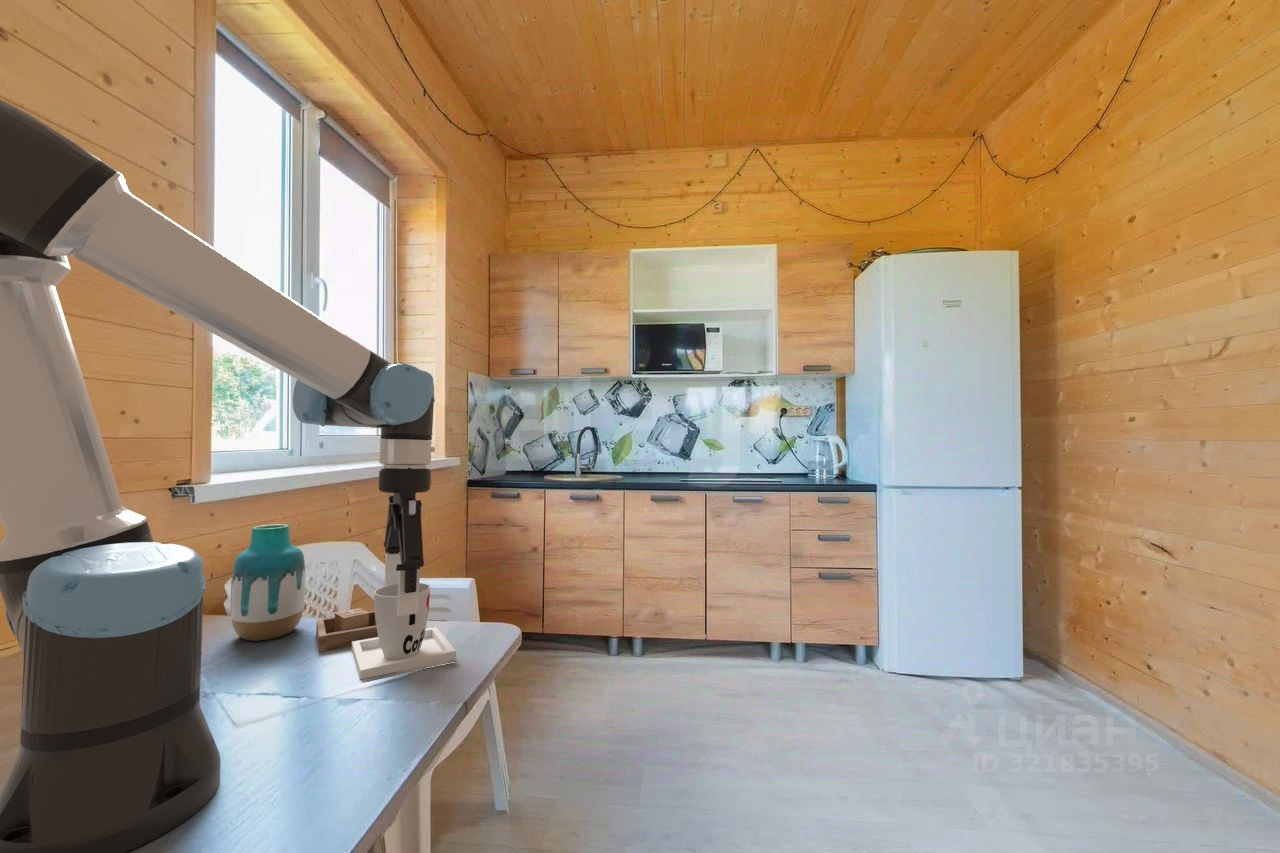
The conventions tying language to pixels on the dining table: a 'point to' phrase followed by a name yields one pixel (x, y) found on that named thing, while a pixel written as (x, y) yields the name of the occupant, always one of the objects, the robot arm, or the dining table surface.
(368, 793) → the dining table surface
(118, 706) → the robot arm
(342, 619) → the letter cube
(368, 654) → the tray
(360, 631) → the brown wooden tray
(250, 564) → the vase
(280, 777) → the dining table surface
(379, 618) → the cup
